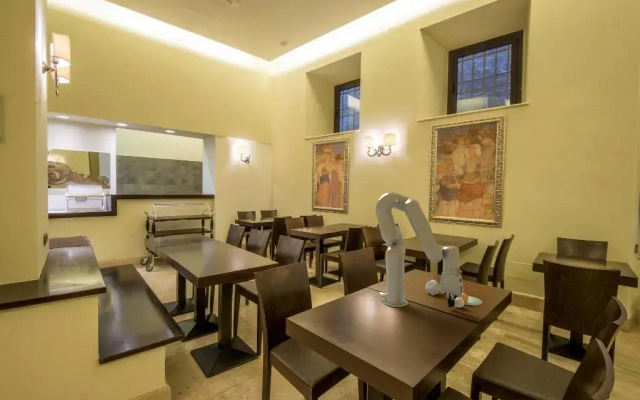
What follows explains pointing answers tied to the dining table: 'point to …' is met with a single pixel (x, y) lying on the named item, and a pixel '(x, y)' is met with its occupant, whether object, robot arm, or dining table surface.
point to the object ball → (465, 297)
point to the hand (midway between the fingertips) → (451, 306)
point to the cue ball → (459, 302)
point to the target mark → (473, 301)
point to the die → (433, 287)
